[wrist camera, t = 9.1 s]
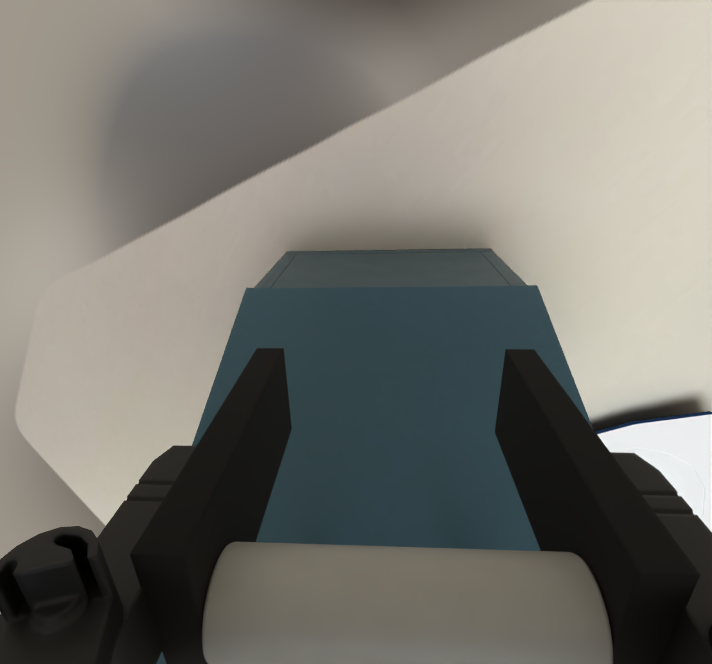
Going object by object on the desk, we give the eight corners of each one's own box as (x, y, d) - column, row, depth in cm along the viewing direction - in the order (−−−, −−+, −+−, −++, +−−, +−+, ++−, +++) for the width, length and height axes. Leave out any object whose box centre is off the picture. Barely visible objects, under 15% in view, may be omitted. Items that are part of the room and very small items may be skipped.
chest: (471, 437, 40) (497, 524, 31) (304, 435, 41) (281, 518, 32) (490, 248, 33) (531, 289, 24) (286, 251, 34) (250, 291, 25)
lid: (720, 813, 10) (1230, 918, 4) (97, 769, 12) (-250, 801, 5) (532, 298, 24) (586, 136, 17) (249, 300, 25) (203, 148, 18)
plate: (736, 541, 43) (757, 564, 41) (537, 589, 48) (545, 613, 46) (705, 382, 36) (729, 399, 34) (476, 456, 41) (481, 476, 39)
